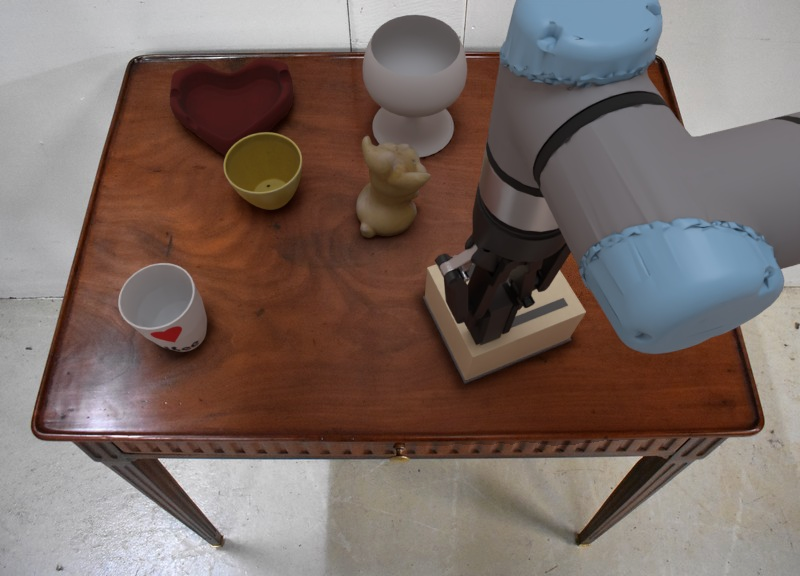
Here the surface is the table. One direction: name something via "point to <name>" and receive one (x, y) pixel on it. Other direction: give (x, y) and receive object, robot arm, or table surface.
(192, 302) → the cup
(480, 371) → the toaster
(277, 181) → the flower pot
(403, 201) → the figurine
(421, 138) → the chalice
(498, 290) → the toaster slider
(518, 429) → the table surface
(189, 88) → the ashtray
